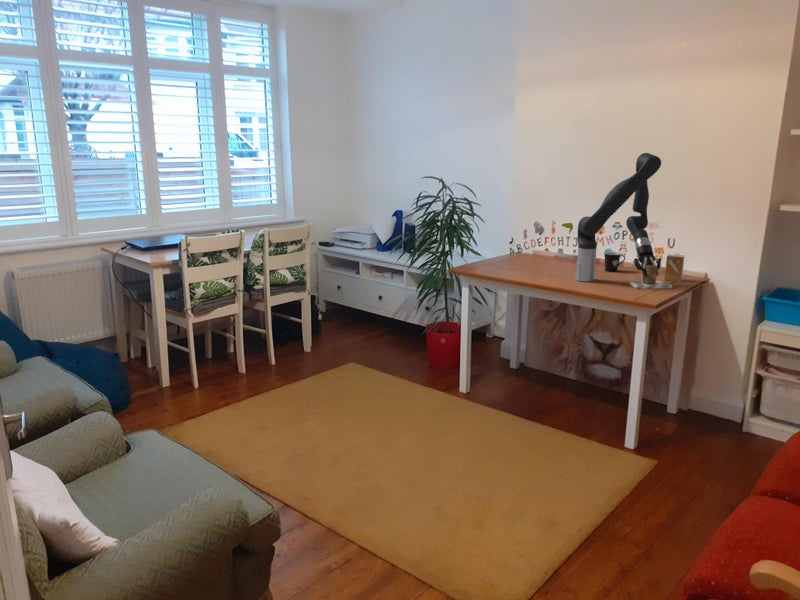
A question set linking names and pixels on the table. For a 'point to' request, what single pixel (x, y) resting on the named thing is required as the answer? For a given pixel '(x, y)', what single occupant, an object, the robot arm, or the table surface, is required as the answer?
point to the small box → (674, 267)
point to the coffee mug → (612, 261)
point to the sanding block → (650, 274)
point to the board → (649, 285)
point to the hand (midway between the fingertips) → (651, 276)
